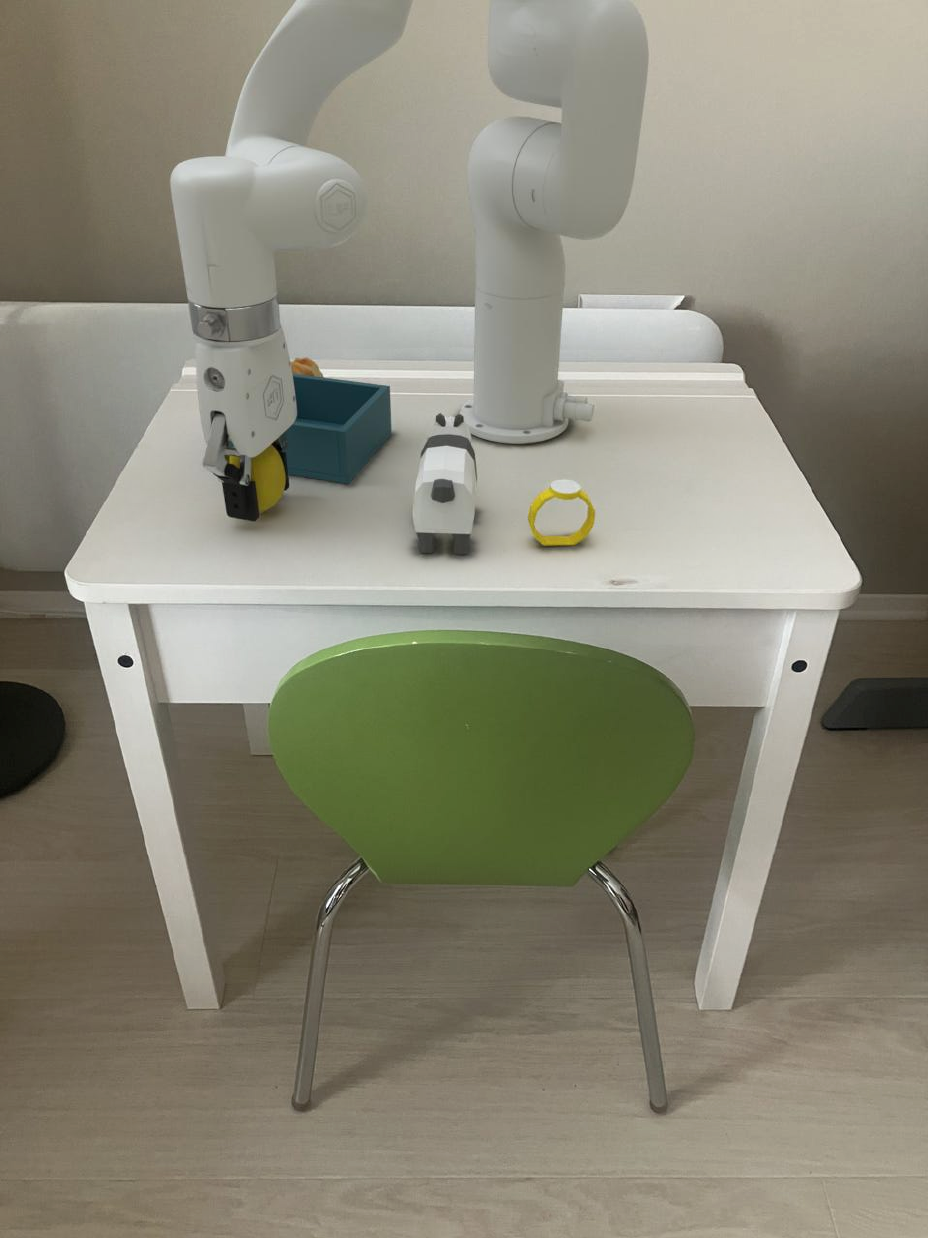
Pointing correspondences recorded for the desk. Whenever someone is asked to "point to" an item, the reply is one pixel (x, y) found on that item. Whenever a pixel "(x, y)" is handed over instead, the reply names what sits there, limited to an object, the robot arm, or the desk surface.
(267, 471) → the lemon
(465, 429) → the giant panda
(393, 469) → the desk surface
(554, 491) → the watch
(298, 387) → the teal open bin
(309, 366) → the pastry
